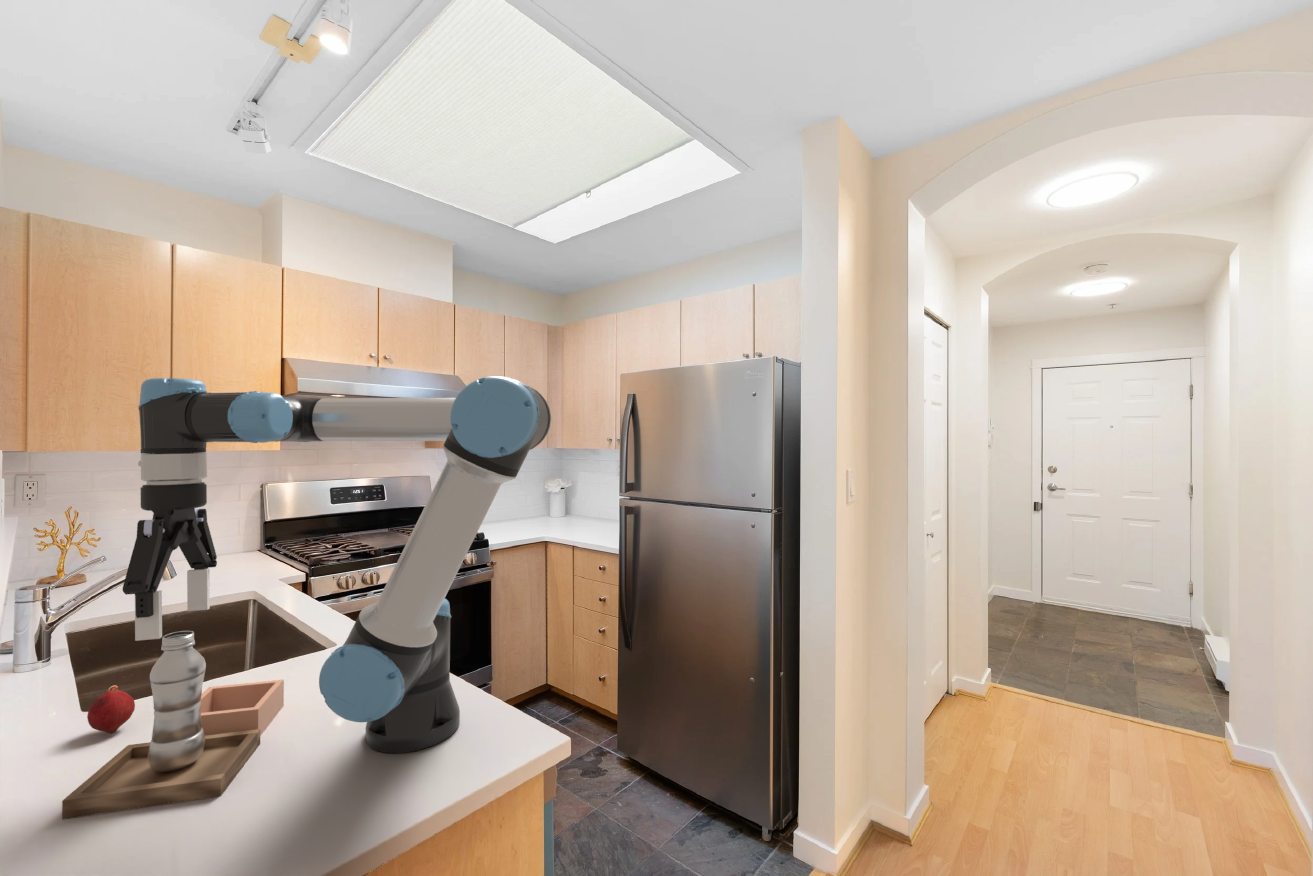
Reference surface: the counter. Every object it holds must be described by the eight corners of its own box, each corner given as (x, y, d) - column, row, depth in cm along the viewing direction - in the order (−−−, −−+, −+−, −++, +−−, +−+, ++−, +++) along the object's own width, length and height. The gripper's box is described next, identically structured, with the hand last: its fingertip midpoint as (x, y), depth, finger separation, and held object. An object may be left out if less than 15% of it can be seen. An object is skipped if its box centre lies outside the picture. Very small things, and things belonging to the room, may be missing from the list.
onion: (104, 743, 93) (104, 695, 93) (77, 739, 94) (78, 692, 94) (143, 725, 98) (143, 680, 98) (117, 722, 100) (117, 677, 100)
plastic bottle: (161, 757, 87) (162, 630, 87) (213, 750, 89) (214, 625, 89) (137, 782, 81) (138, 644, 81) (193, 774, 83) (194, 639, 83)
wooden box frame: (283, 705, 106) (283, 679, 106) (258, 738, 95) (258, 709, 95) (209, 714, 103) (209, 687, 103) (173, 749, 91) (173, 718, 91)
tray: (260, 744, 93) (260, 729, 93) (220, 796, 79) (220, 778, 79) (128, 760, 88) (128, 745, 88) (62, 819, 74) (62, 800, 74)
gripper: (188, 477, 95) (189, 602, 95) (84, 490, 71) (86, 657, 71) (239, 476, 97) (240, 598, 97) (156, 488, 73) (157, 650, 73)
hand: (175, 623), depth 84 cm, fingers open, 13 cm apart
